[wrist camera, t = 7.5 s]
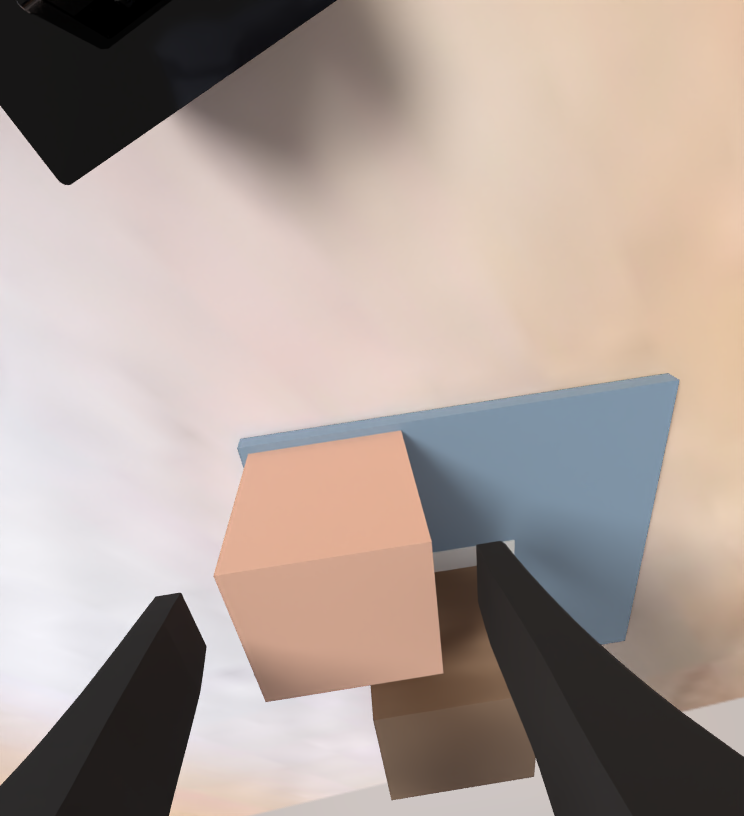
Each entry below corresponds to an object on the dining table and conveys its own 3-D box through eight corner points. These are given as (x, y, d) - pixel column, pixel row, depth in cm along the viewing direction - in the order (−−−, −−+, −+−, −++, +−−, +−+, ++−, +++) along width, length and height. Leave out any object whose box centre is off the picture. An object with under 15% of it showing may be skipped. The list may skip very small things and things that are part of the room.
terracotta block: (401, 430, 13) (431, 541, 9) (413, 543, 15) (443, 673, 11) (248, 453, 13) (213, 576, 9) (282, 564, 15) (265, 702, 11)
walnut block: (488, 563, 16) (540, 692, 12) (489, 644, 18) (534, 776, 14) (362, 583, 16) (373, 720, 12) (377, 662, 18) (391, 800, 14)
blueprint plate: (667, 373, 14) (680, 380, 13) (618, 629, 19) (625, 642, 19) (240, 438, 14) (237, 449, 13) (315, 678, 19) (314, 692, 19)
